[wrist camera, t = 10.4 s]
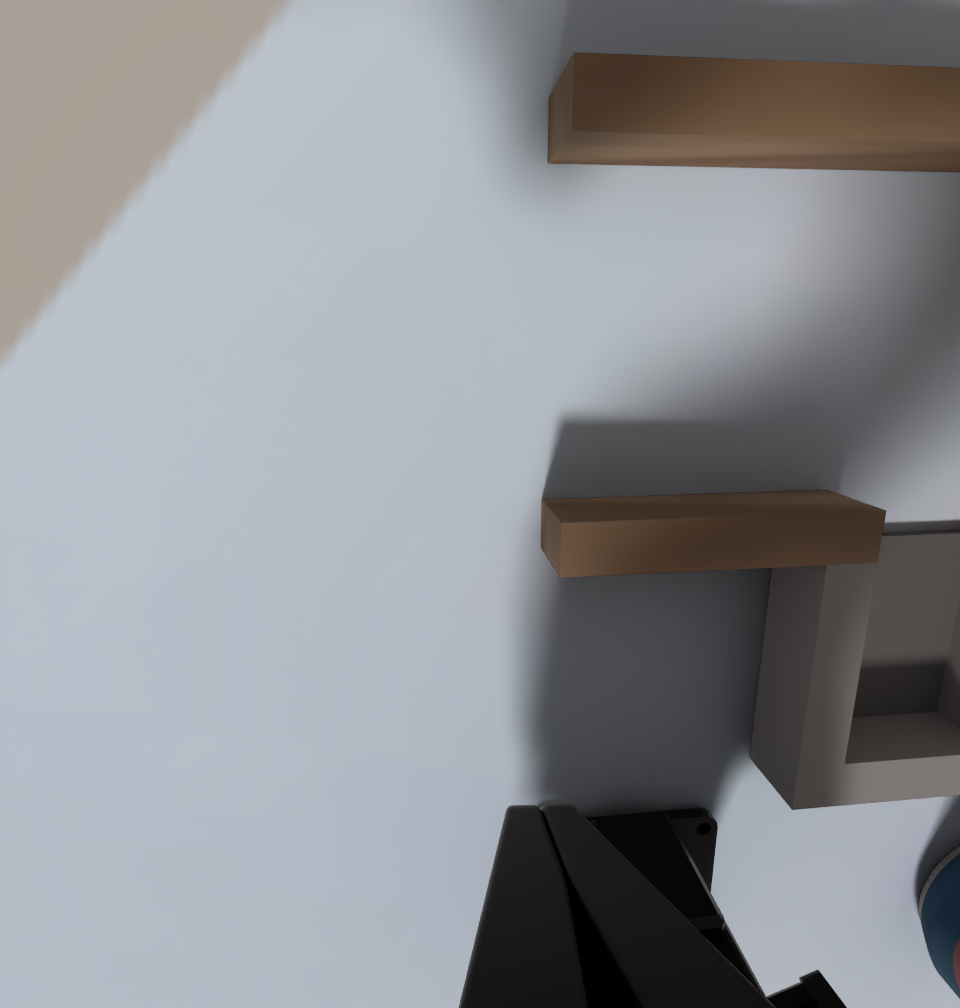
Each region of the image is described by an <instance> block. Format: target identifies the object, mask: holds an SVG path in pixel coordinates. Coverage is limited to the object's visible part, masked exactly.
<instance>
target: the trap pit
mask: <svg viewBox="0 0 960 1008" xmlns="http://www.w3.org/2000/svg"><path fill="white" fill-rule="evenodd" d="M750 759H751V760H752V761H753V762H754V764H755V765H756V766H757V767H758V768H759V770H760V771H761V772H762V773H763V775H764V776H765V777H766V778H767V780H768V781H769V782H770V783H771V784H772V786H773V787H774V788H775V789H776V791H777V792H778V793H779V794H780V795H781V797H782V798H783V799H784V800H785V802H786V803H787V804H788V805H789V806H790V808H791V809H792V810H795V809H807V808H818V807H829V806H841V805H852V804H863V803H875V802H886V801H897V800H909V799H920V798H931V797H943V796H954V795H960V530H950V531H926V532H902V533H882V539H881V545H880V552H879V558H878V563H863V564H842V565H820V566H799V567H777V568H772V571H771V579H770V588H769V596H768V605H767V613H766V622H765V630H764V639H763V647H762V655H761V664H760V672H759V681H758V689H757V698H756V706H755V714H754V723H753V731H752V740H751V748H750Z"/></svg>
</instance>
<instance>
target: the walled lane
mask: <svg viewBox="0 0 960 1008" xmlns="http://www.w3.org/2000/svg"><path fill="white" fill-rule="evenodd" d="M548 163H554V164H600V165H647V166H693V167H740V168H787V169H833V170H880V171H926V172H960V68H951V67H926V66H900V65H875V64H850V63H825V62H800V61H775V60H750V59H725V58H700V57H675V56H649V55H624V54H599V53H573V55H572V56H571V58H570V60H569V62H568V64H567V66H566V67H565V69H564V71H563V73H562V75H561V77H560V78H559V80H558V82H557V84H556V86H555V88H554V89H553V91H552V93H551V95H550V97H549V120H548ZM885 515H886V510H883V509H880V508H877V507H874V506H871V505H868V504H865V503H863V502H860V501H857V500H854V499H851V498H848V497H845V496H843V495H840V494H837V493H834V492H831V491H828V490H808V491H778V492H749V493H719V494H689V495H660V496H630V497H600V498H571V499H542V512H541V549H542V550H543V552H544V553H545V555H546V556H547V558H548V560H549V561H550V563H551V564H552V566H553V568H554V569H555V571H556V572H557V574H558V576H559V577H560V578H563V577H585V576H606V575H628V574H649V573H670V572H692V571H713V570H735V569H756V568H777V567H799V566H820V565H842V564H863V563H878V558H879V552H880V545H881V539H882V533H883V527H884V521H885Z"/></svg>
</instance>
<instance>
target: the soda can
mask: <svg viewBox="0 0 960 1008" xmlns="http://www.w3.org/2000/svg"><path fill="white" fill-rule="evenodd" d="M919 916H920V920H921V925H922V929H923V933H924V937H925V941H926V945H927V948H928V952H929V955H930V957H931V960H932V962H933V964H934V966H935V968H936V970H937V971H938V973H939V974H940V976H941V977H942V978H943V979H944V980H945V982H946V983H947V984H948V985H949V986H950V988H951V989H952V990H953V991H954V992H955V994H956V995H957V996H958V997H959V998H960V846H959V847H957V848H956V849H954V850H953V851H952V852H950V853H949V854H948V855H947V856H945V857H944V858H943V859H942V860H941V861H940V862H939V863H938V864H937V866H936V867H935V868H934V869H933V871H932V872H931V873H930V875H929V877H928V878H927V880H926V882H925V884H924V886H923V889H922V891H921V895H920V899H919Z"/></svg>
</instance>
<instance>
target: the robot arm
mask: <svg viewBox="0 0 960 1008" xmlns="http://www.w3.org/2000/svg"><path fill="white" fill-rule="evenodd" d="M701 823H703V824H702V825H701V826H698V825H700V824H701ZM716 837H717V822H716V821H715V819H714V818H713V816H712V814H711V813H710V812H709V811H708V810H706V809H704V808H696V809H684V810H672V811H661V812H649V813H638V814H626V815H615V816H603V817H592V818H585V817H584V816H583V815H582V814H581V813H580V812H579V811H578V810H577V809H576V808H575V807H573V806H571V805H569V804H551V805H543V806H542V807H541V808H540V809H539V807H537V806H536V805H513V806H509V807H508V808H507V810H506V814H505V818H504V822H503V826H502V830H501V835H500V839H499V843H498V847H497V851H496V855H495V859H494V864H493V868H492V872H491V876H490V880H489V884H488V888H487V893H486V897H485V901H484V905H483V909H482V913H481V917H480V922H479V926H478V930H477V934H476V938H475V942H474V946H473V951H472V955H471V959H470V963H469V967H468V971H467V976H466V980H465V984H464V988H463V992H462V996H461V1000H460V1005H459V1008H847V1007H846V1006H845V1005H844V1003H843V1002H842V1001H841V999H840V998H839V997H838V995H837V994H836V993H835V991H834V990H833V989H832V987H831V986H830V985H829V983H828V982H827V981H826V979H825V978H824V977H823V975H822V974H821V973H820V971H819V970H816V971H813V972H811V973H809V974H806V975H804V976H802V977H800V978H799V979H800V982H799V983H797V984H795V985H792V986H790V987H788V988H785V989H783V990H781V991H778V992H776V993H774V994H771V995H769V996H767V997H766V996H765V994H764V992H763V990H762V988H761V986H760V985H759V983H758V981H757V979H756V977H755V975H754V974H753V972H752V970H751V968H750V966H749V964H748V962H747V961H746V959H745V957H744V955H743V953H742V951H741V950H740V948H739V946H738V944H737V942H736V940H735V938H734V937H733V935H732V933H731V931H730V929H729V927H728V925H727V924H726V922H725V920H724V917H723V915H722V913H721V911H720V909H719V907H718V906H717V904H716V902H715V900H714V898H713V896H712V895H711V884H712V874H713V865H714V856H715V846H716Z"/></svg>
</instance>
